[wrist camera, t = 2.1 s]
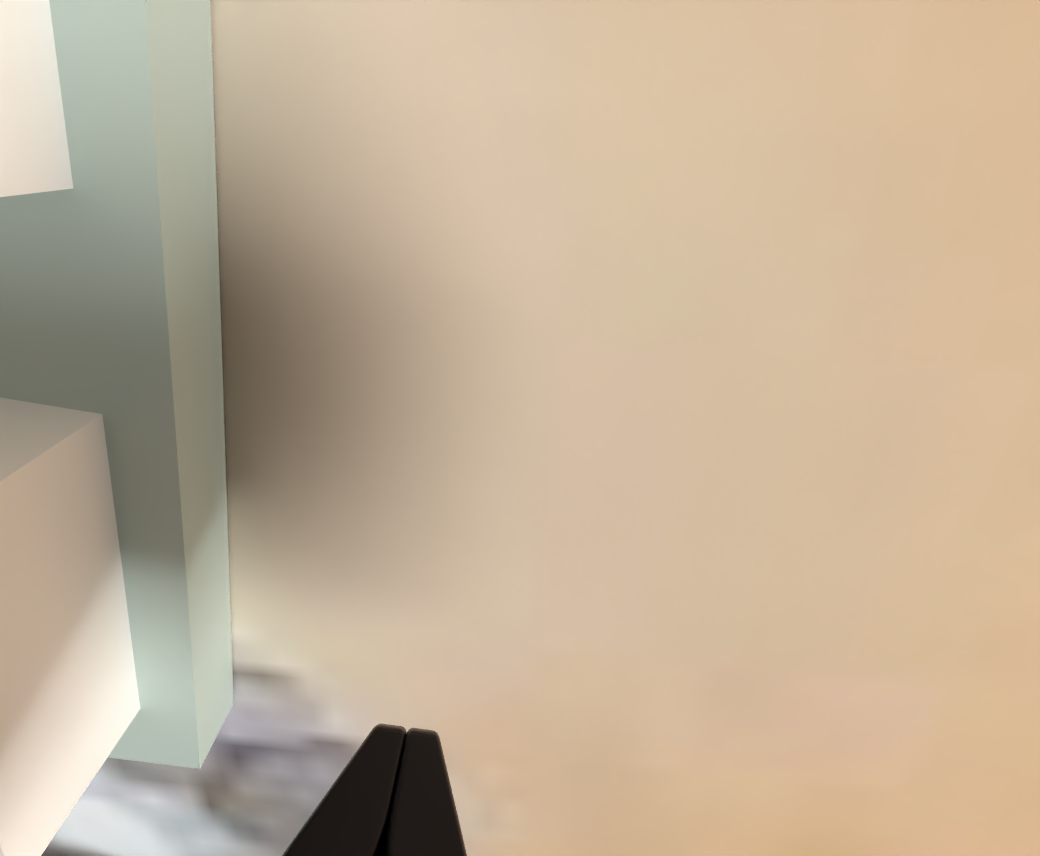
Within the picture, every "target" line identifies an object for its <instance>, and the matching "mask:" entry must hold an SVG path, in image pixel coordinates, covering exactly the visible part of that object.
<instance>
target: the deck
mask: <svg viewBox="0 0 1040 856" xmlns="http://www.w3.org/2000/svg"><path fill="white" fill-rule="evenodd" d="M49 3H50V11H51V18H52V26H53V34H54V42H55V49H56V57H57V65H58V73H59V81H60V88H61V96H62V104H63V112H64V119H65V127H66V135H67V143H68V151H69V158H70V166H71V174H72V182H73V189H65V190H56V191H48V192H39V193H31V194H23V195H14V196H6V197H0V398H6V399H12V400H19V401H25V402H31V403H37V404H43V405H49V406H56V407H62V408H68V409H74V410H80V411H86V412H92V413H99V414H102V415H103V423H104V431H105V438H106V446H107V454H108V462H109V470H110V477H111V485H112V493H113V501H114V508H115V516H116V524H117V532H118V540H119V547H120V555H121V563H122V571H123V578H124V586H125V594H126V602H127V610H128V617H129V625H130V633H131V641H132V648H133V656H134V664H135V672H136V680H137V687H138V695H139V703H140V710H139V711H138V713H137V714H136V716H135V717H134V719H133V720H132V722H131V723H130V725H129V726H128V728H127V729H126V731H125V732H124V734H123V735H122V737H121V738H120V739H119V741H118V742H117V744H116V745H115V747H114V748H113V750H112V751H111V753H110V754H109V756H108V757H110V758H118V759H125V760H133V761H141V762H149V763H157V764H165V765H173V766H181V767H189V768H197V769H200V768H201V766H202V764H203V762H204V760H205V758H206V756H207V754H208V752H209V750H210V748H211V747H212V745H213V743H214V741H215V739H216V737H217V735H218V733H219V731H220V729H221V727H222V725H223V723H224V721H225V719H226V717H227V716H228V714H229V712H230V710H231V708H232V706H233V704H234V702H233V671H232V641H231V611H230V580H229V550H228V520H227V489H226V459H225V428H224V398H223V368H222V337H221V307H220V277H219V246H218V216H217V186H216V155H215V125H214V95H213V64H212V34H211V3H210V0H49Z"/></svg>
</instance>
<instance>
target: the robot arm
mask: <svg viewBox="0 0 1040 856" xmlns="http://www.w3.org/2000/svg"><path fill="white" fill-rule="evenodd" d="M282 856H467V854H466V850H465V845H464V841H463V837H462V832H461V828H460V824H459V820H458V815H457V811H456V807H455V802H454V798H453V794H452V789H451V785H450V781H449V777H448V772H447V768H446V764H445V759H444V755H443V751H442V746H441V742H440V738H439V735H438V734H437V732H435V731H432V730H425V729H417V728H411V729H409V730H408V732H407V734H406V729H405V728H404V727H402V726H395V725H387V724H378V725H376V726H375V727H374V728H373V729H372V731H371V732H370V733H369V735H368V736H367V738H366V739H365V740H364V742H363V743H362V745H361V746H360V747H359V749H358V750H357V752H356V753H355V754H354V756H353V757H352V759H351V760H350V761H349V763H348V764H347V766H346V767H345V768H344V770H343V771H342V773H341V774H340V775H339V777H338V778H337V780H336V781H335V782H334V784H333V785H332V787H331V788H330V789H329V791H328V792H327V794H326V795H325V796H324V798H323V799H322V801H321V802H320V803H319V805H318V806H317V808H316V809H315V810H314V812H313V813H312V815H311V816H310V817H309V819H308V820H307V822H306V823H305V824H304V826H303V827H302V829H301V830H300V831H299V833H298V834H297V836H296V837H295V838H294V840H293V841H292V843H291V844H290V845H289V847H288V848H287V850H286V851H285V852H284V854H283V855H282Z"/></svg>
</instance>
